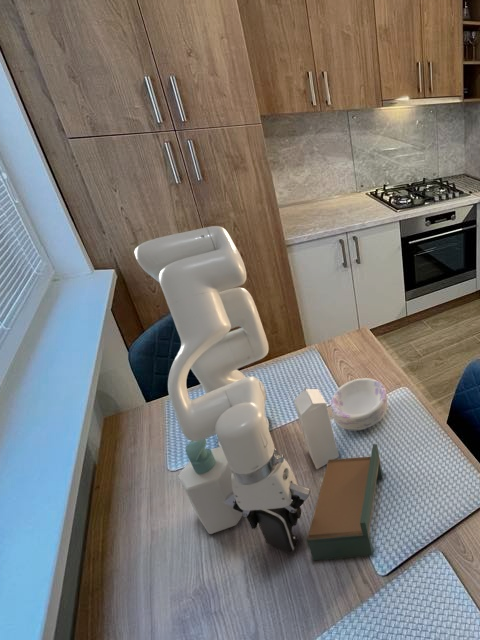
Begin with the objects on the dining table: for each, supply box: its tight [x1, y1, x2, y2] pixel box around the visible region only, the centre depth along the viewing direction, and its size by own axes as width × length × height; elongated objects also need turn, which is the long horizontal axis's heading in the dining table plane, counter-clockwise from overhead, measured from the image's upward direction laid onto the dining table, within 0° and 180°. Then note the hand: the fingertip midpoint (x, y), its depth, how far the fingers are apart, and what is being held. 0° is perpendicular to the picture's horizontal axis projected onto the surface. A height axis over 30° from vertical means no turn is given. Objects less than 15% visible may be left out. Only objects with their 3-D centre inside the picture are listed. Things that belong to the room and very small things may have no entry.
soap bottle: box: [177, 438, 243, 535], centre depth 88 cm, size 10×9×22 cm
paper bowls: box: [330, 377, 389, 432], centre depth 114 cm, size 15×15×8 cm
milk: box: [293, 384, 340, 470], centre depth 100 cm, size 6×6×22 cm
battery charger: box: [255, 508, 299, 554], centre depth 84 cm, size 7×4×11 cm, turn 70°
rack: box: [306, 443, 384, 561], centre depth 89 cm, size 12×18×11 cm, turn 4°
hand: (276, 519), depth 83 cm, fingers closed on battery charger, 7 cm apart
